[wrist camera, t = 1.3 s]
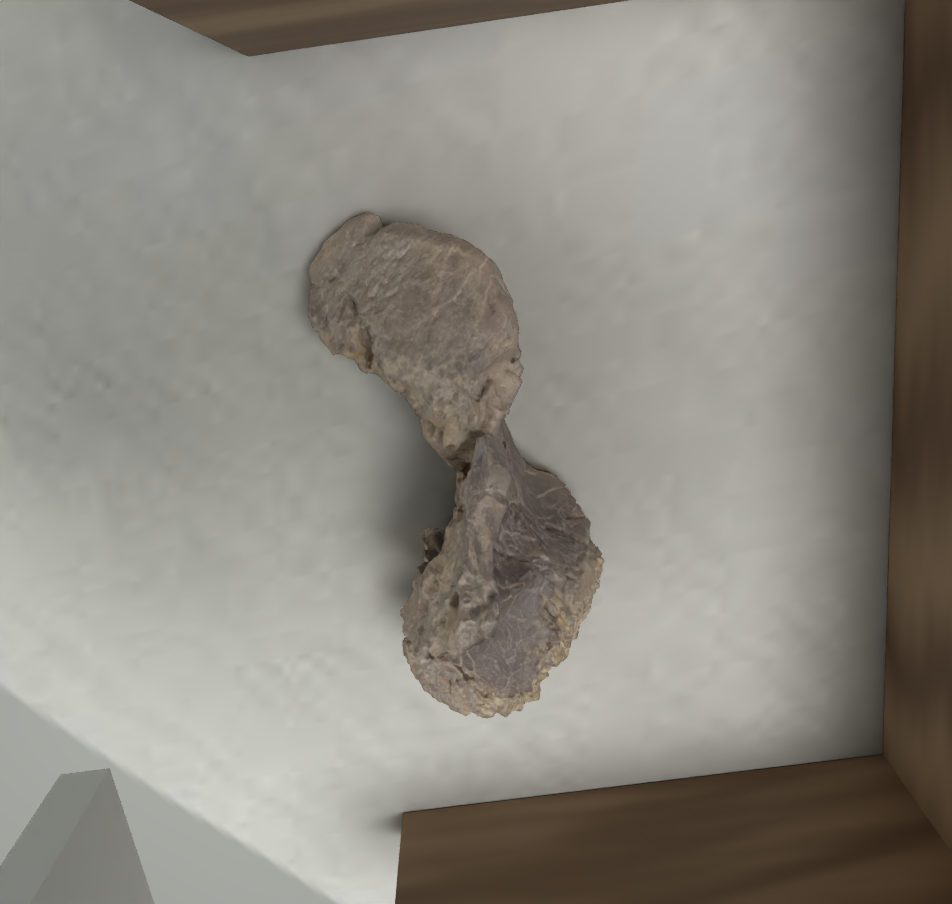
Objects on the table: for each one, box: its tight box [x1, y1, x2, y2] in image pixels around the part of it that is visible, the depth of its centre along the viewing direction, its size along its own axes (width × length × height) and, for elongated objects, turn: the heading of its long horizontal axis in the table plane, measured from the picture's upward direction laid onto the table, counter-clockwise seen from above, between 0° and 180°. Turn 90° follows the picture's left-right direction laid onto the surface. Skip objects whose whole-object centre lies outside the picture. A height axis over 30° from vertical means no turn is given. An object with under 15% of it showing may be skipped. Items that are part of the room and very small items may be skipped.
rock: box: [308, 213, 604, 718], centre depth 22 cm, size 6×14×7 cm, turn 14°
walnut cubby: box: [130, 0, 952, 904], centre depth 20 cm, size 26×18×10 cm
